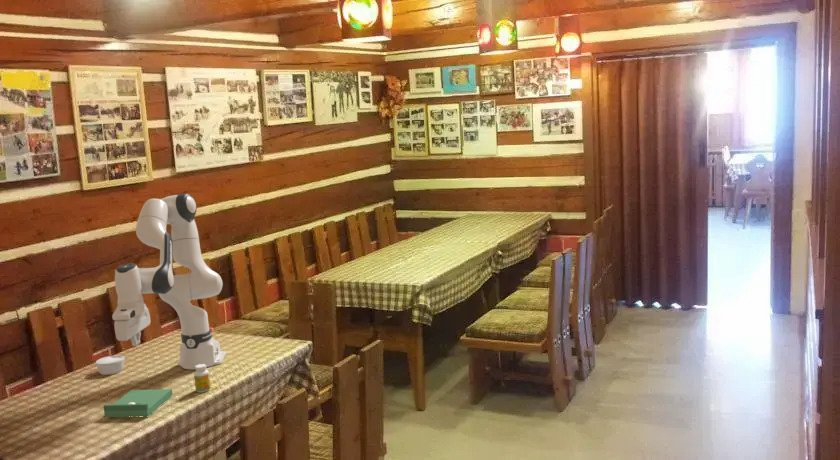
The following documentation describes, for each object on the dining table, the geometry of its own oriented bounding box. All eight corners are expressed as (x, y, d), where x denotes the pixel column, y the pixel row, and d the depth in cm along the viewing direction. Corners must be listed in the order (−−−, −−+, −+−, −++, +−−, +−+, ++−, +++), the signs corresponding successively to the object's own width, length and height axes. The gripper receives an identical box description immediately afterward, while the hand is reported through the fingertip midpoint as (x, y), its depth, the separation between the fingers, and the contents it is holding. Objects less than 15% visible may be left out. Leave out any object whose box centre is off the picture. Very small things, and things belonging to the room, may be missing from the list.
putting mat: (132, 396, 288) (130, 384, 288) (172, 395, 286) (171, 384, 286) (104, 417, 269) (103, 405, 268) (148, 417, 267) (146, 404, 266)
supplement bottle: (195, 393, 287) (193, 369, 285) (196, 388, 292) (193, 364, 290) (210, 391, 288) (207, 366, 287) (210, 386, 293) (207, 362, 292)
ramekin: (130, 366, 324) (129, 354, 324) (117, 375, 314) (116, 363, 313) (105, 367, 326) (104, 355, 325) (92, 376, 315) (90, 364, 314)
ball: (130, 406, 274) (126, 400, 272) (139, 405, 274) (136, 400, 271) (126, 414, 272) (123, 408, 269) (136, 414, 271) (132, 408, 269)
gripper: (136, 300, 288) (141, 335, 291) (109, 317, 268) (114, 354, 271) (152, 300, 288) (156, 335, 290) (126, 316, 268) (131, 354, 270)
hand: (136, 344), depth 280 cm, fingers closed
